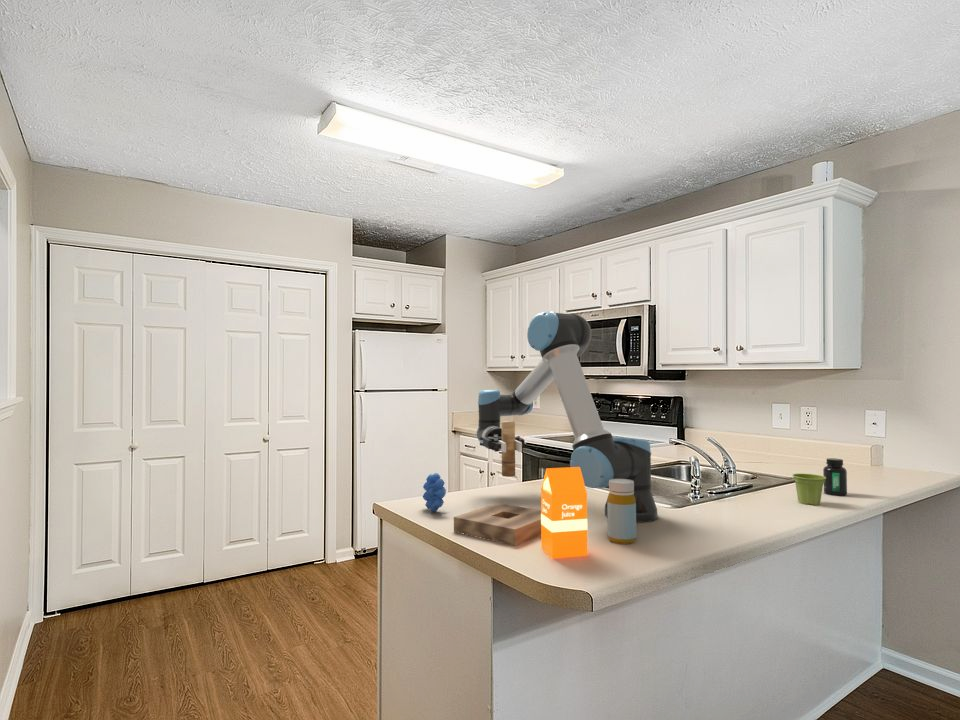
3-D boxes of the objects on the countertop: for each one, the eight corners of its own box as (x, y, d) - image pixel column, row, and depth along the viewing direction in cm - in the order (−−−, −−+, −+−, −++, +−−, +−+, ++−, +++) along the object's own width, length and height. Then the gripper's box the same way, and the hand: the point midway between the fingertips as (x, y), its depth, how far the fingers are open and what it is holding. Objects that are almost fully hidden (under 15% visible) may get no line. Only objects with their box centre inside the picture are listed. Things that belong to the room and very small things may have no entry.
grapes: (456, 513, 172) (455, 473, 172) (436, 516, 168) (436, 476, 168) (437, 506, 181) (436, 468, 182) (418, 509, 178) (418, 470, 178)
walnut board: (556, 527, 155) (556, 513, 155) (515, 545, 140) (515, 529, 140) (498, 516, 168) (497, 503, 168) (453, 531, 152) (453, 516, 152)
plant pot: (808, 498, 188) (807, 472, 189) (833, 505, 180) (833, 477, 180) (785, 500, 186) (785, 474, 186) (810, 507, 177) (810, 479, 177)
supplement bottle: (840, 497, 191) (839, 461, 191) (819, 493, 196) (819, 458, 197) (851, 494, 194) (850, 459, 194) (830, 491, 200) (829, 457, 200)
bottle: (605, 536, 147) (604, 478, 148) (632, 536, 147) (631, 478, 147) (610, 544, 140) (610, 483, 141) (639, 544, 140) (638, 483, 140)
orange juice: (541, 548, 137) (540, 465, 138) (575, 545, 139) (574, 464, 140) (552, 559, 130) (551, 471, 130) (588, 555, 132) (587, 469, 132)
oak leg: (518, 475, 170) (517, 421, 170) (510, 477, 166) (509, 422, 167) (507, 473, 172) (506, 420, 173) (498, 475, 169) (498, 421, 169)
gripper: (520, 448, 189) (541, 459, 166) (470, 450, 185) (484, 461, 162) (520, 426, 189) (540, 433, 166) (469, 427, 186) (483, 435, 163)
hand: (512, 447), depth 164 cm, fingers closed on oak leg, 4 cm apart
